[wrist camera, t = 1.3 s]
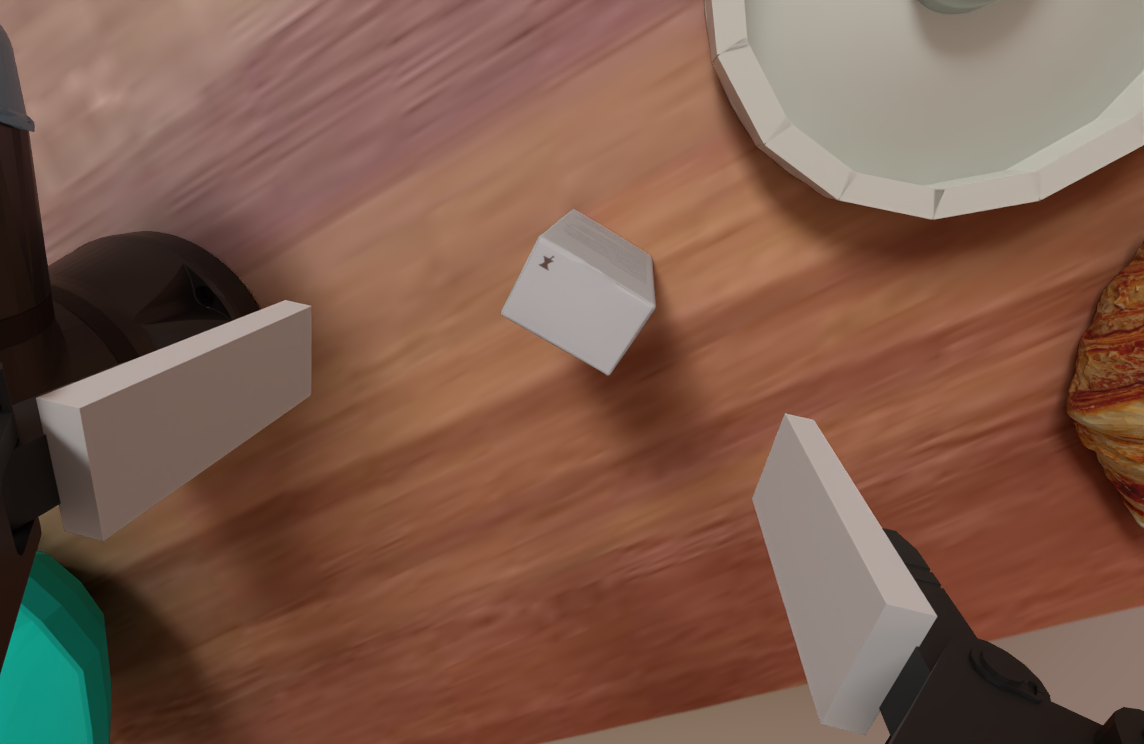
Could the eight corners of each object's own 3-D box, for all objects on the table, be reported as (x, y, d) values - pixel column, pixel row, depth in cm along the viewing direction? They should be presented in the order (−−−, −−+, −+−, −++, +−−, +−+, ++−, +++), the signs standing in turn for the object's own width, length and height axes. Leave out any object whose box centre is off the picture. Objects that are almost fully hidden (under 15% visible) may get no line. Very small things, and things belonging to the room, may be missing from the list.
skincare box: (541, 265, 36) (494, 313, 25) (573, 206, 34) (538, 230, 23) (620, 312, 36) (609, 380, 25) (655, 256, 35) (660, 303, 24)
